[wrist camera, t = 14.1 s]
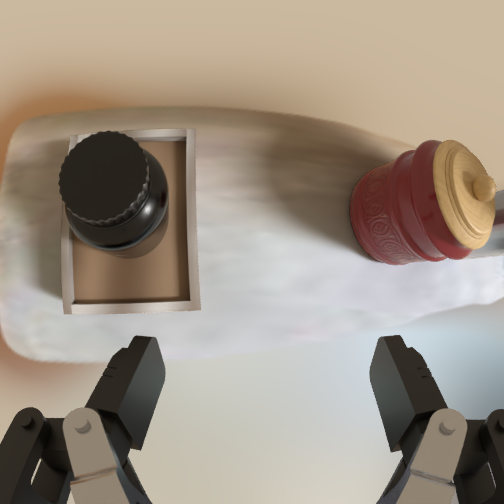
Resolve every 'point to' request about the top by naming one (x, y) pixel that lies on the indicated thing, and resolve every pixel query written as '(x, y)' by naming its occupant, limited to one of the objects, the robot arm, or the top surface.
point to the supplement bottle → (115, 195)
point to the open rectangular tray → (152, 264)
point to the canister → (424, 205)
